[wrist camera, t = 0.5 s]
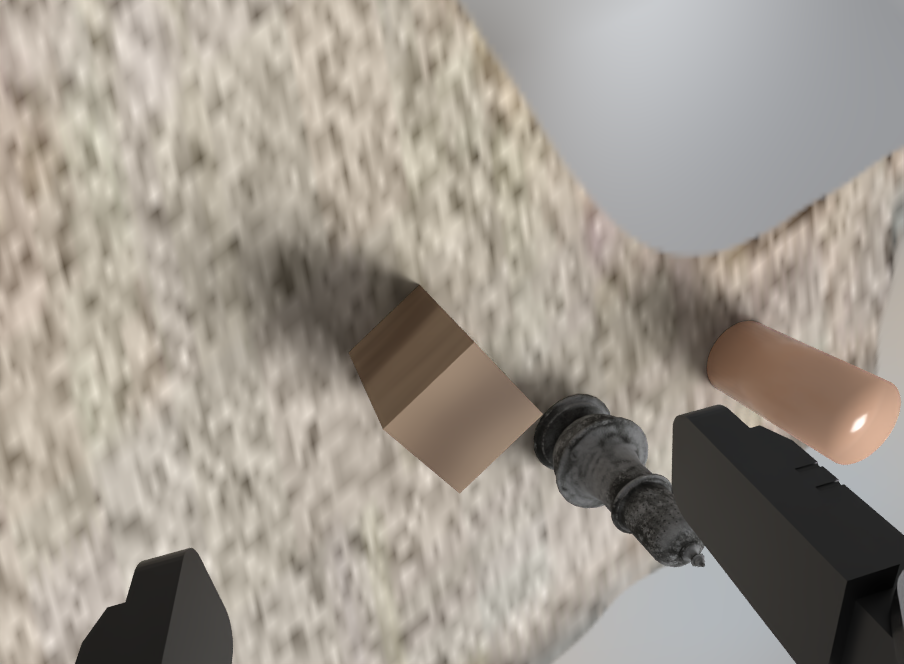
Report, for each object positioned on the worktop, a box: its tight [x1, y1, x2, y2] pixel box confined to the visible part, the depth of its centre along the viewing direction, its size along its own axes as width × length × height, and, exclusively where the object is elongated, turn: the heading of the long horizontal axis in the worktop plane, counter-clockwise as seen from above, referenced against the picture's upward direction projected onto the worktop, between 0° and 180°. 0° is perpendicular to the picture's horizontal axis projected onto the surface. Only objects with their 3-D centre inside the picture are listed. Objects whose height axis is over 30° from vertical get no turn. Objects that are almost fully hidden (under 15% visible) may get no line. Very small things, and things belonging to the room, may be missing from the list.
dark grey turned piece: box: [534, 395, 705, 567], centre depth 33 cm, size 6×6×12 cm
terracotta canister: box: [707, 321, 901, 465], centre depth 37 cm, size 5×5×9 cm
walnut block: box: [349, 285, 543, 493], centre depth 29 cm, size 5×5×8 cm
